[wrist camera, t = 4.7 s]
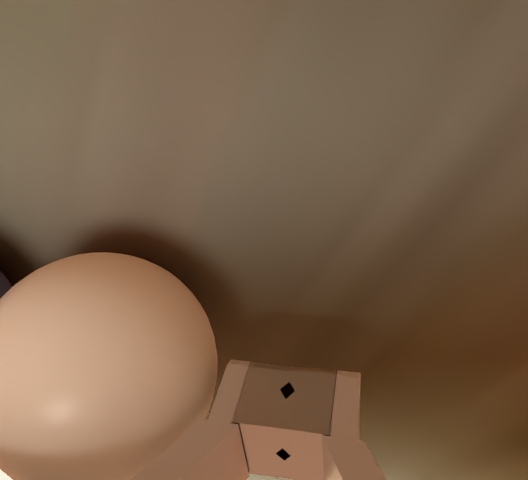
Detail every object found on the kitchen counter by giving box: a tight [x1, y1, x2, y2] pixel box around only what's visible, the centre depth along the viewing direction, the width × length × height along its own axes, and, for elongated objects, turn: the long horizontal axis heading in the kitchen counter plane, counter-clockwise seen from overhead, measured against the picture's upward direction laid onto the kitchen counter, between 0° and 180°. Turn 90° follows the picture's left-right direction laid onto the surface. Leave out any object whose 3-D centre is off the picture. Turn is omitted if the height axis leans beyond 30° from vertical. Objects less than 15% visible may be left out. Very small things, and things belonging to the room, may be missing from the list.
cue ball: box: [0, 252, 218, 480], centre depth 11 cm, size 6×6×6 cm
